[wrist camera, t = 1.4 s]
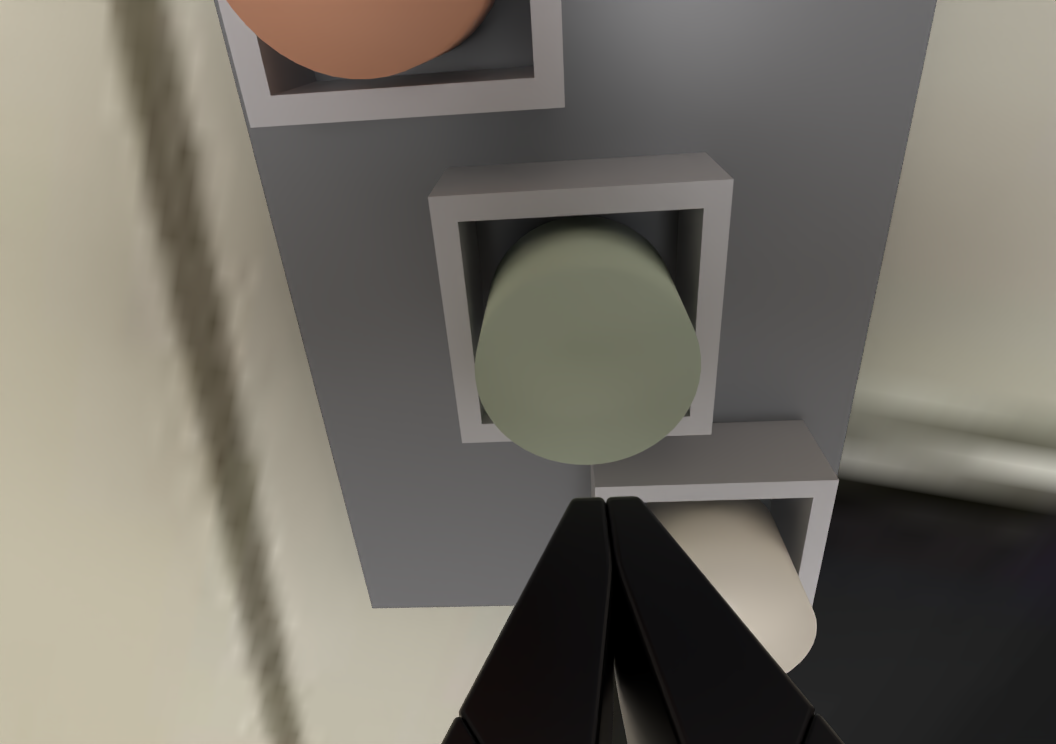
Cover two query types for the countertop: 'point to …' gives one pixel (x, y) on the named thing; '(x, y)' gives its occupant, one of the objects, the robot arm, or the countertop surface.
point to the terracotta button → (362, 32)
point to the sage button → (585, 344)
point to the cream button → (746, 569)
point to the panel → (601, 191)
